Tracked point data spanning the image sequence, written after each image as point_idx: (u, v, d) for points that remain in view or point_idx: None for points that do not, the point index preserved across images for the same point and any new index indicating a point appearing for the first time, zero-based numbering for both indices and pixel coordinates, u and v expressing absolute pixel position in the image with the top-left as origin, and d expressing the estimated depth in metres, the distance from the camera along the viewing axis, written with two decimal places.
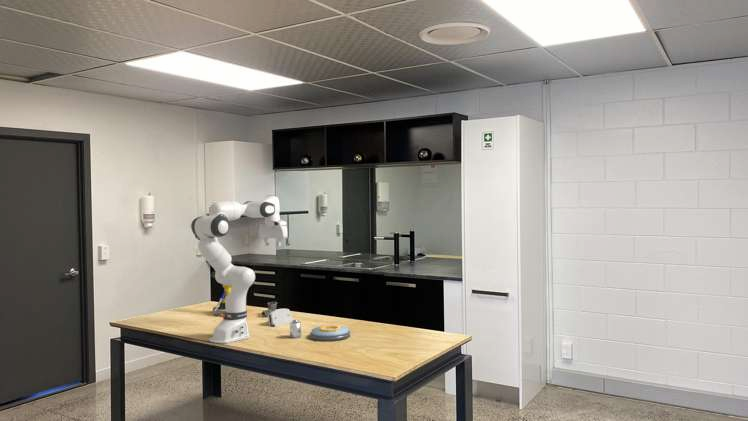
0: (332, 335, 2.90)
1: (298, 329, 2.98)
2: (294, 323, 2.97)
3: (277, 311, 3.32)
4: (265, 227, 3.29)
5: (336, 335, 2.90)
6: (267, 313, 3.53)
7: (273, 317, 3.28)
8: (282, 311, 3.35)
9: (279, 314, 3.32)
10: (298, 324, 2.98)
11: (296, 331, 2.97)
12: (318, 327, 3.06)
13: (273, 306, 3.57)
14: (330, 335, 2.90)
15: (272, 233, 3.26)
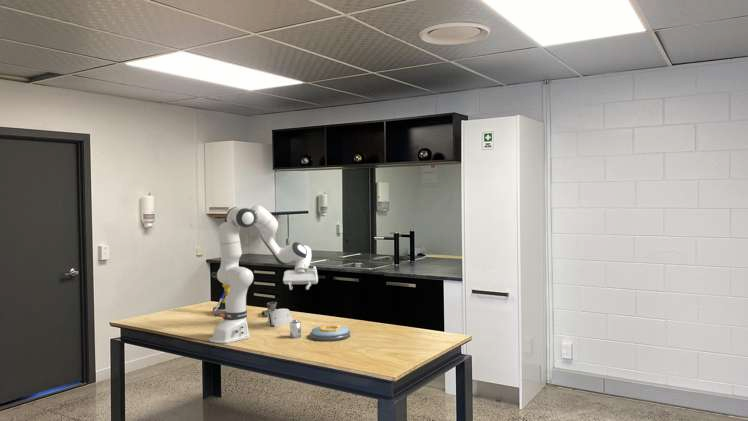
0: (332, 335, 2.90)
1: (298, 329, 2.98)
2: (294, 323, 2.97)
3: (277, 311, 3.31)
4: (293, 272, 3.21)
5: (336, 335, 2.90)
6: (267, 313, 3.53)
7: (273, 317, 3.28)
8: (282, 311, 3.34)
9: (279, 314, 3.32)
10: (298, 324, 2.98)
11: (296, 331, 2.97)
12: (318, 327, 3.06)
13: (273, 306, 3.57)
14: (330, 335, 2.90)
15: (302, 276, 3.18)
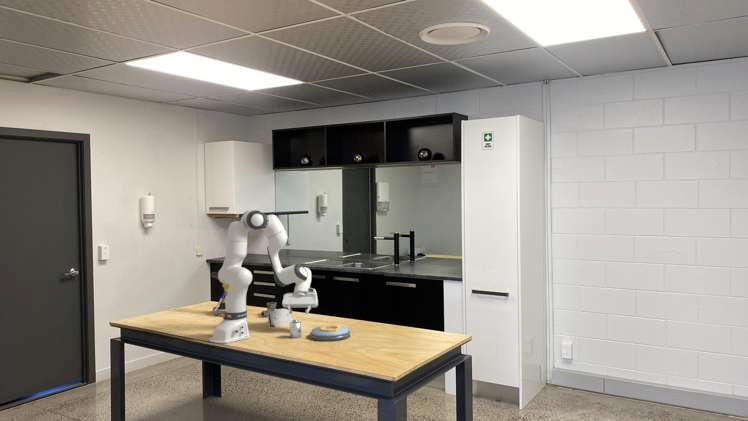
0: (332, 335, 2.90)
1: (298, 329, 2.98)
2: (294, 323, 2.97)
3: (276, 311, 3.31)
4: (293, 295, 3.14)
5: (336, 335, 2.90)
6: (266, 313, 3.52)
7: (273, 317, 3.27)
8: (281, 311, 3.34)
9: (278, 314, 3.32)
10: (298, 324, 2.98)
11: (296, 331, 2.97)
12: (318, 327, 3.06)
13: (272, 306, 3.56)
14: (330, 335, 2.90)
15: (302, 300, 3.11)
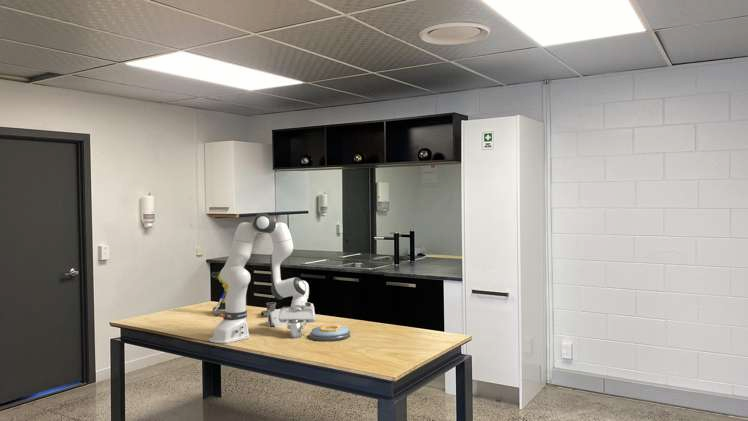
0: (332, 335, 2.90)
1: (298, 329, 2.98)
2: (294, 323, 2.97)
3: (276, 311, 3.31)
4: (290, 309, 3.06)
5: (336, 335, 2.90)
6: (266, 313, 3.52)
7: (273, 317, 3.27)
8: None
9: (278, 314, 3.31)
10: (298, 324, 2.98)
11: (296, 331, 2.97)
12: (318, 327, 3.06)
13: (272, 306, 3.56)
14: (330, 335, 2.90)
15: (299, 314, 3.03)
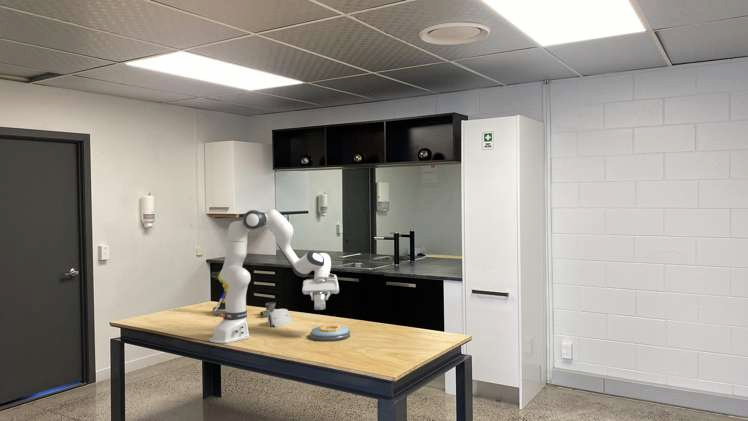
0: (332, 335, 2.90)
1: (323, 301, 2.98)
2: (318, 295, 2.97)
3: (276, 311, 3.31)
4: (313, 281, 3.05)
5: (336, 335, 2.90)
6: (265, 314, 3.51)
7: (273, 317, 3.27)
8: (281, 311, 3.34)
9: (278, 314, 3.31)
10: (322, 295, 2.97)
11: (321, 302, 2.97)
12: (318, 327, 3.06)
13: (271, 307, 3.55)
14: (330, 335, 2.90)
15: (322, 286, 3.03)
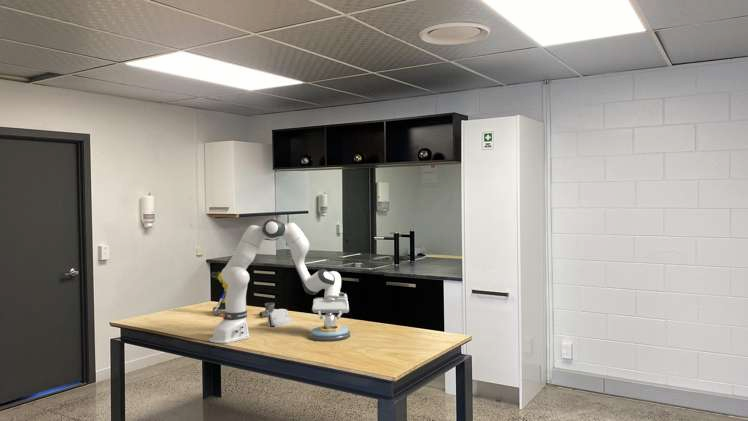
0: (332, 335, 2.90)
1: (333, 322, 2.97)
2: (328, 316, 2.97)
3: (276, 311, 3.30)
4: (323, 299, 3.05)
5: (336, 335, 2.90)
6: (264, 314, 3.51)
7: (273, 318, 3.26)
8: (280, 311, 3.34)
9: (278, 314, 3.31)
10: (332, 317, 2.97)
11: (331, 324, 2.97)
12: (318, 327, 3.06)
13: (271, 307, 3.55)
14: (330, 335, 2.90)
15: (332, 305, 3.03)
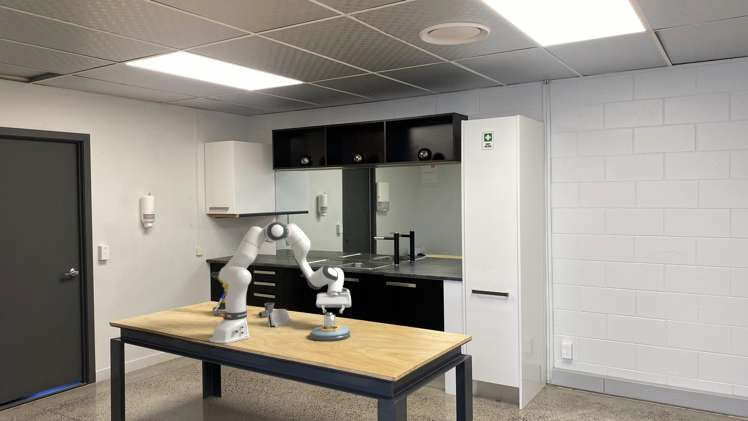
0: (332, 335, 2.90)
1: (333, 322, 2.97)
2: (328, 316, 2.97)
3: (276, 312, 3.30)
4: (326, 295, 3.18)
5: (336, 335, 2.90)
6: (264, 314, 3.50)
7: (273, 318, 3.26)
8: (280, 311, 3.33)
9: (278, 315, 3.31)
10: (332, 317, 2.97)
11: (331, 324, 2.97)
12: (318, 327, 3.06)
13: (270, 307, 3.54)
14: (330, 335, 2.90)
15: (335, 300, 3.16)
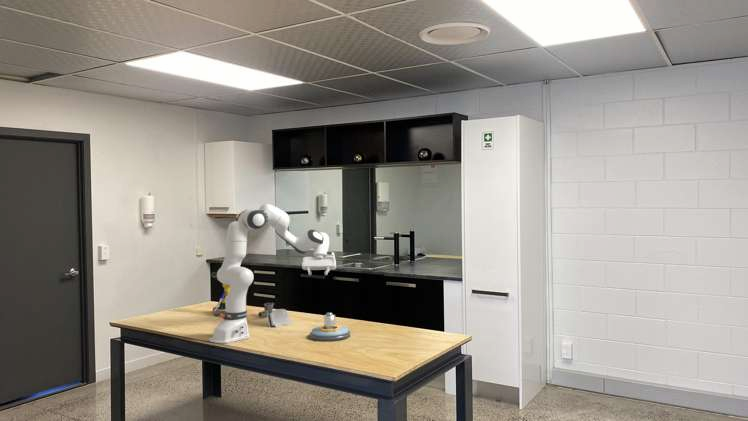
0: (332, 335, 2.90)
1: (333, 322, 2.97)
2: (328, 316, 2.97)
3: (276, 312, 3.30)
4: (312, 257, 3.26)
5: (336, 335, 2.90)
6: (263, 314, 3.50)
7: (273, 318, 3.26)
8: (280, 312, 3.33)
9: (278, 315, 3.30)
10: (332, 317, 2.97)
11: (331, 324, 2.97)
12: (318, 327, 3.06)
13: (270, 307, 3.54)
14: (330, 335, 2.90)
15: (321, 262, 3.23)
